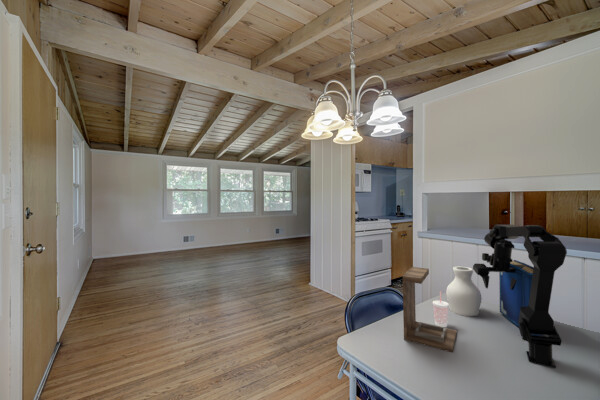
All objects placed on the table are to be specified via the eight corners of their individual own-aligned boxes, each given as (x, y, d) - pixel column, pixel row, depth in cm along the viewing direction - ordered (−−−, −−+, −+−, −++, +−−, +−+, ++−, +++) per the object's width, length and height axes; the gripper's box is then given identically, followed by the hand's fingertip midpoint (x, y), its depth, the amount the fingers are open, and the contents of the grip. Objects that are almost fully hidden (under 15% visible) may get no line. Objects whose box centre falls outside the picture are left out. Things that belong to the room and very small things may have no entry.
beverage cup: (439, 320, 117) (438, 287, 117) (452, 325, 111) (452, 292, 112) (429, 323, 114) (429, 290, 114) (442, 329, 109) (442, 294, 109)
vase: (476, 306, 131) (475, 265, 131) (486, 318, 117) (485, 273, 117) (443, 303, 135) (442, 263, 135) (450, 315, 122) (449, 271, 122)
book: (551, 339, 100) (549, 271, 100) (529, 337, 101) (527, 271, 101) (516, 314, 121) (515, 259, 121) (499, 313, 122) (497, 258, 123)
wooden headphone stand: (452, 352, 92) (451, 282, 92) (403, 339, 101) (402, 275, 101) (456, 333, 105) (455, 271, 106) (413, 323, 114) (412, 266, 115)
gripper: (517, 246, 115) (514, 279, 119) (469, 245, 119) (466, 277, 123) (533, 258, 104) (528, 294, 108) (479, 256, 109) (476, 291, 112)
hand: (498, 288), depth 113 cm, fingers open, 9 cm apart
